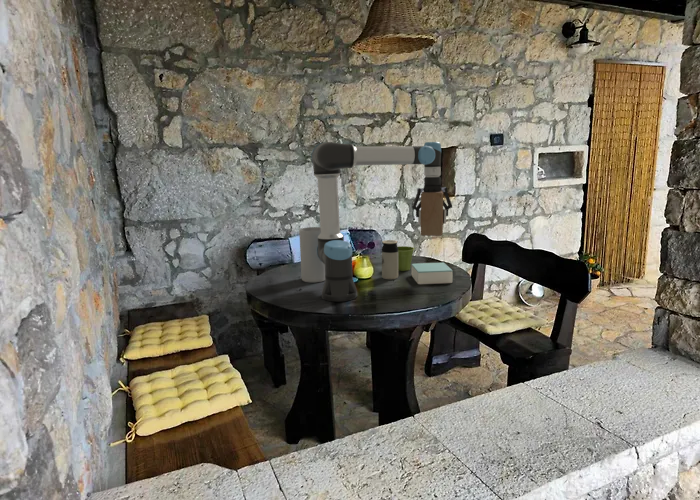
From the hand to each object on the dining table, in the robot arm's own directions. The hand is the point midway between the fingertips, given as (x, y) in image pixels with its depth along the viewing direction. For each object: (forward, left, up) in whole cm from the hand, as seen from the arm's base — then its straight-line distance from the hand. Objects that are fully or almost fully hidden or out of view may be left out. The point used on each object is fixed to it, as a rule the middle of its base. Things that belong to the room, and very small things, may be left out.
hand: (431, 223), depth 219 cm
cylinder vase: (-56, +8, -27) cm, 63 cm away
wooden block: (0, 0, -5) cm, 5 cm away
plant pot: (-10, +21, -27) cm, 36 cm away
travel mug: (-19, +6, -27) cm, 34 cm away
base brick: (0, 0, -27) cm, 27 cm away
